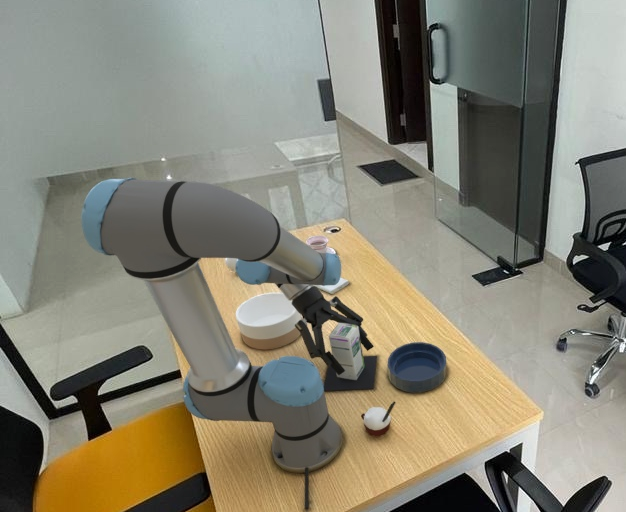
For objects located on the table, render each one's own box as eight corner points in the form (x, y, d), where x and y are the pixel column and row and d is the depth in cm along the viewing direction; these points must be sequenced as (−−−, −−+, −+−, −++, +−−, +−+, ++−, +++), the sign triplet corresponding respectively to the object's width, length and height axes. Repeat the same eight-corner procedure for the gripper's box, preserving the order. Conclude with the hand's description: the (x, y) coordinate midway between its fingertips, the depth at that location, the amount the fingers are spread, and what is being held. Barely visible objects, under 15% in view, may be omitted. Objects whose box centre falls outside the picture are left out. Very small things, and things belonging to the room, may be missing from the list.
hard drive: (323, 273, 176) (349, 284, 171) (305, 283, 170) (331, 294, 165) (322, 269, 175) (348, 280, 170) (304, 279, 169) (330, 290, 164)
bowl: (263, 310, 156) (256, 288, 152) (313, 318, 154) (309, 296, 149) (230, 344, 143) (222, 321, 138) (285, 354, 140) (278, 330, 135)
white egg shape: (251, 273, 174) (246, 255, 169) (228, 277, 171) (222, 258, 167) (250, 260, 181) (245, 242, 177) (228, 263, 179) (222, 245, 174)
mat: (373, 389, 130) (373, 388, 130) (322, 391, 129) (322, 390, 129) (377, 356, 140) (376, 355, 140) (330, 358, 139) (329, 357, 139)
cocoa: (358, 426, 120) (352, 390, 113) (380, 413, 123) (376, 378, 116) (378, 451, 114) (373, 415, 107) (401, 437, 117) (398, 402, 110)
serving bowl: (447, 392, 130) (447, 379, 127) (387, 394, 128) (385, 382, 126) (445, 353, 143) (445, 341, 140) (390, 355, 141) (389, 343, 138)
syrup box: (356, 381, 132) (350, 338, 123) (336, 377, 133) (328, 334, 124) (365, 366, 136) (359, 325, 128) (345, 363, 137) (337, 321, 129)
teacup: (342, 255, 186) (340, 240, 183) (313, 266, 179) (310, 251, 175) (324, 244, 193) (322, 230, 189) (296, 254, 186) (293, 240, 182)
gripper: (272, 310, 116) (332, 383, 119) (340, 267, 132) (391, 332, 136) (261, 321, 121) (319, 390, 124) (328, 279, 138) (377, 341, 141)
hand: (356, 360), depth 130 cm, fingers open, 10 cm apart
